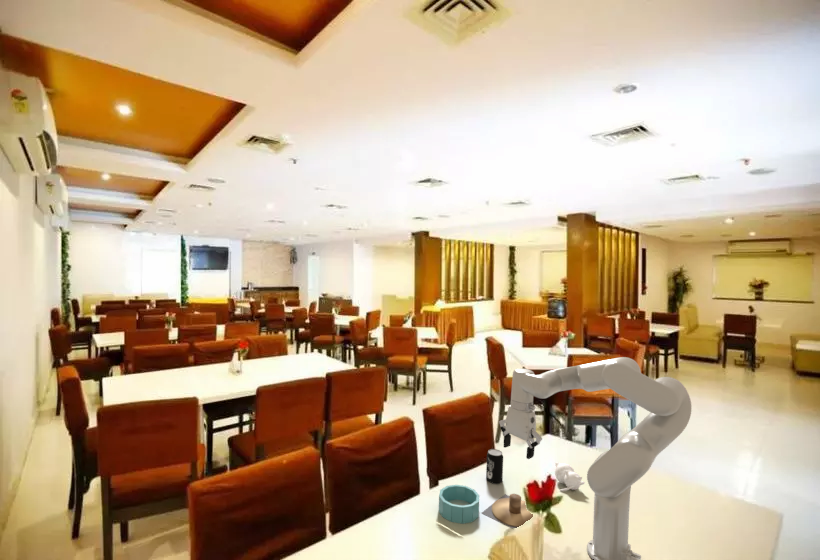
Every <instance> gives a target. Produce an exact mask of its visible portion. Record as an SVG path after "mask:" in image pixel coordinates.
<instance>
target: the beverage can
mask: <svg viewBox="0 0 820 560" xmlns="http://www.w3.org/2000/svg"><path fill="white" fill-rule="evenodd" d="M485 470H486V472H485V474H486V475H485V479H486V480H487V482H488V483H491V484H493V485H494V484H495V485H497V484H501V483H502V482H503V477H504V475H503V473H504V472H503V471H504V455H503V452H502V450H500V449H497V448H496V449H495V448H491V449H488V451H487V454H486V469H485Z"/></svg>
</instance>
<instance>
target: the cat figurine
mask: <svg viewBox="0 0 820 560" xmlns="http://www.w3.org/2000/svg"><path fill="white" fill-rule="evenodd" d="M554 463H555V469H554V475H555V478H556V480H557V481H558V482H559V483H561V484H564V485H565V486H566V487H564V488H561V489H559V491H560V492H567V491H569V490H572V491H575V490H578V489H579V488H580V487H581V486H582V485H585V483H586V482H585V481H583V480H582V479H583V476H580V474H579V473H577V472H575V471H574V468H573V467H572V466H571V464H568V463H564V462H562V463H560V462H559V461H555V462H554Z"/></svg>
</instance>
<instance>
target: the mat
mask: <svg viewBox="0 0 820 560" xmlns="http://www.w3.org/2000/svg"><path fill="white" fill-rule="evenodd" d="M509 497H510V495H508V494H506V493H504V494H503V495H502V496H500V498H498V499H497V500H499V499H503V498H509ZM492 505H493V503H492V504H491V505H489V506H488V507H487V508H486V509H485V510H482V512H481V514H482V515H484V516H486V517H488V518H490V519H493V520H494V521H496V522H498V523H500V524H503V525H505V526H506V527H508V528H511V529H512V528H517V527H514V526H510V525H507V524H505V523H503V522H501V521H499V520H498V519H497V518H496V517H495V516H494V515H493V513H492Z"/></svg>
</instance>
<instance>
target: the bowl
mask: <svg viewBox="0 0 820 560" xmlns="http://www.w3.org/2000/svg"><path fill="white" fill-rule="evenodd" d="M438 512H439V514H440V515H441V517H442V518H443V519H445V520H447V521H449V522H450V523H454V524H455V523H457V524H462V525H463V524H468V523H473V522H474V521H475V520H477V519H478V518H479V516H480V515H479V514H480V494H479V493H478V492H477V491H476V490H475V489H473V488H472V487H469V486H466V485H463V484H462V485H461V484H451V485H446V486H444V487H443V488H441V489H440V490H439V495H438Z"/></svg>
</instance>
